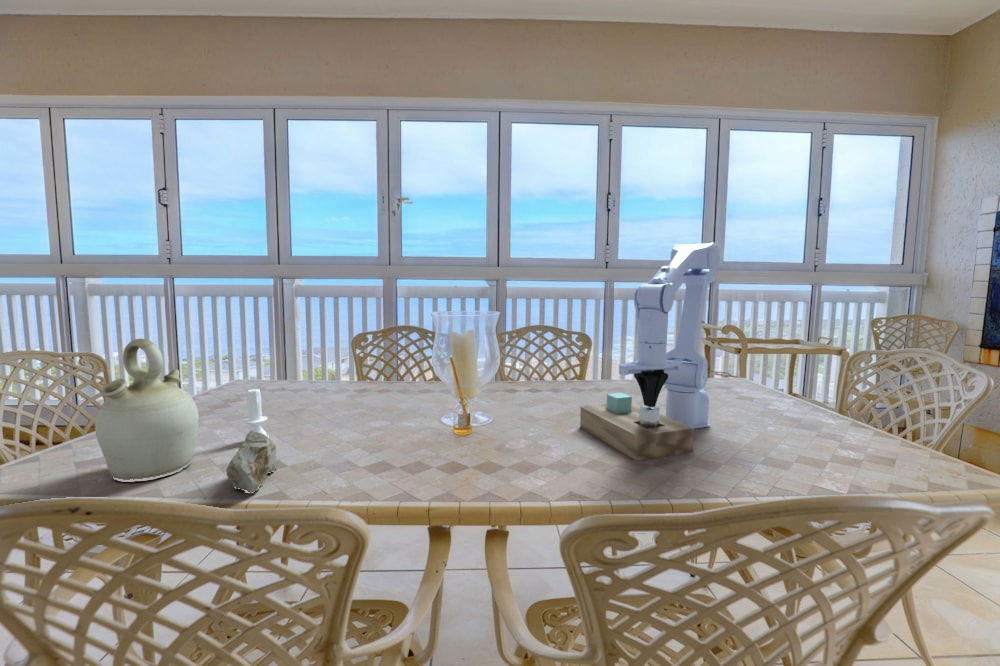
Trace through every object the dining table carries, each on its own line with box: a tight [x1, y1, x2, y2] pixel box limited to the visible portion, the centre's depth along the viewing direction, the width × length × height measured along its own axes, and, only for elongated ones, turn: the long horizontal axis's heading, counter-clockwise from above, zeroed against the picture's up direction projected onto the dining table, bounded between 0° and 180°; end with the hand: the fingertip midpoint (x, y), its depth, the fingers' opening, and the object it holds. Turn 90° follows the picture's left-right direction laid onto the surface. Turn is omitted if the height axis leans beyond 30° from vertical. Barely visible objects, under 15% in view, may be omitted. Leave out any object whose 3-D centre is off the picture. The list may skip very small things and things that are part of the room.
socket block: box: [579, 402, 695, 462], centre depth 104 cm, size 14×22×5 cm, turn 20°
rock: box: [226, 430, 279, 493], centre depth 82 cm, size 12×7×10 cm, turn 6°
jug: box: [94, 338, 200, 480], centre depth 87 cm, size 15×16×25 cm
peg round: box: [639, 404, 661, 429], centre depth 99 cm, size 4×4×5 cm
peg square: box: [606, 392, 633, 414], centre depth 109 cm, size 4×4×5 cm
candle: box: [243, 388, 269, 437], centre depth 103 cm, size 5×5×12 cm
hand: (649, 405), depth 98 cm, fingers closed
